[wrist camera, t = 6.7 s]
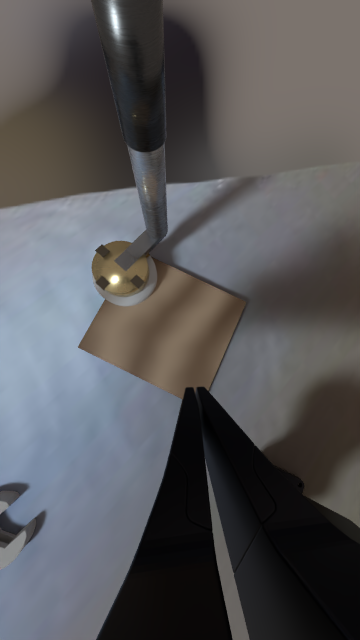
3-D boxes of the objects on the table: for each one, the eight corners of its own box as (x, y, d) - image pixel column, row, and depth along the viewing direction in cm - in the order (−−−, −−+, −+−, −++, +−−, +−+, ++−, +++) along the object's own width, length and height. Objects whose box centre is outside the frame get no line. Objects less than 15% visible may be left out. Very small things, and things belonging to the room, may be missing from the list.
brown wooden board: (243, 303, 23) (250, 299, 21) (199, 405, 21) (202, 411, 19) (117, 244, 24) (112, 234, 21) (62, 337, 21) (50, 336, 19)
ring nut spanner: (125, 309, 20) (-39, 181, 4) (85, 273, 20) (-192, 42, 5) (184, 247, 21) (218, -12, 6) (146, 215, 22) (83, -105, 6)
